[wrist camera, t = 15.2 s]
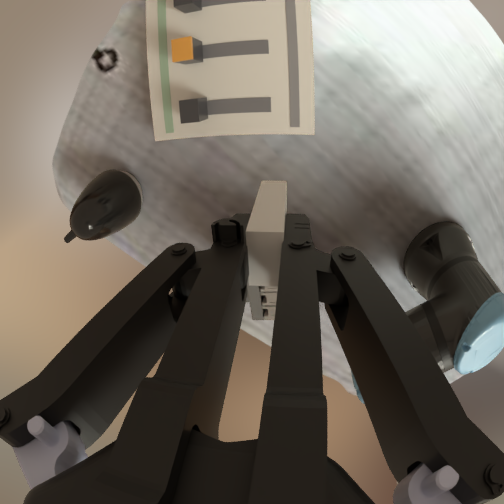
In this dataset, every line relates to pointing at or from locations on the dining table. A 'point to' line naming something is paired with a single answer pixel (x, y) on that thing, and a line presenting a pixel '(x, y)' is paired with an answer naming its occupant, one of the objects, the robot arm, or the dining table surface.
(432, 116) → the dining table surface
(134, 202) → the pump dispenser
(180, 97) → the breaker panel
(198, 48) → the block
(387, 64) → the dining table surface
